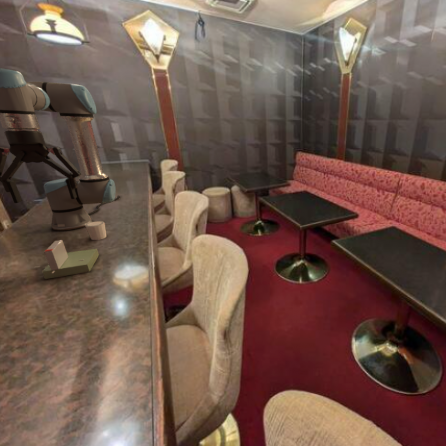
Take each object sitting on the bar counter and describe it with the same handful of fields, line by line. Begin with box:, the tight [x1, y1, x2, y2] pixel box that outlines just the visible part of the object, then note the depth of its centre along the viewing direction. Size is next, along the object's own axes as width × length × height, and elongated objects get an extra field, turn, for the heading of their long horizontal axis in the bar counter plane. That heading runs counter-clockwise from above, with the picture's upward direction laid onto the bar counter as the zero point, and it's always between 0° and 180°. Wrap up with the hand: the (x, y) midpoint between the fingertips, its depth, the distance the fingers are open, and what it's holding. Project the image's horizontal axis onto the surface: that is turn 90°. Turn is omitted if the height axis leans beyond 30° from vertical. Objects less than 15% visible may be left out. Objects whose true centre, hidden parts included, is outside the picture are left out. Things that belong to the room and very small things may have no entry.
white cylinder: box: [85, 220, 107, 241], centre depth 112 cm, size 7×7×7 cm
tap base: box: [34, 248, 99, 280], centre depth 88 cm, size 16×15×3 cm
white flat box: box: [43, 239, 68, 270], centre depth 85 cm, size 9×2×7 cm, turn 26°
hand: (47, 200), depth 79 cm, fingers open, 13 cm apart
